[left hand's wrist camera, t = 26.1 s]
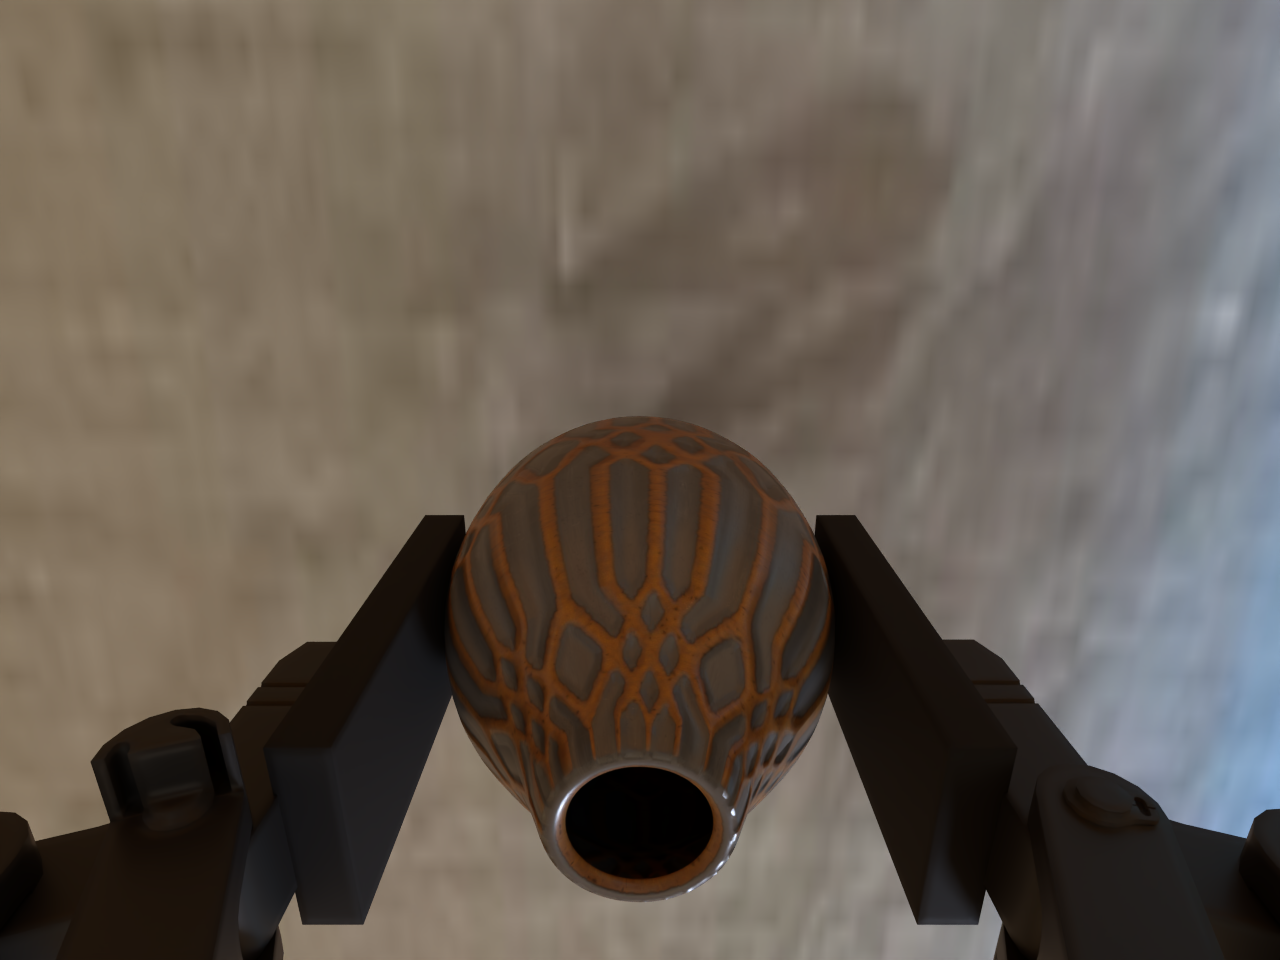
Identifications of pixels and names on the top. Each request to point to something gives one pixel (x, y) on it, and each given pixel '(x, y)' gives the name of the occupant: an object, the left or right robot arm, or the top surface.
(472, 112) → the top surface
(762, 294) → the top surface
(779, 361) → the top surface
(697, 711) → the lattice patterned pot
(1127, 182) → the top surface
